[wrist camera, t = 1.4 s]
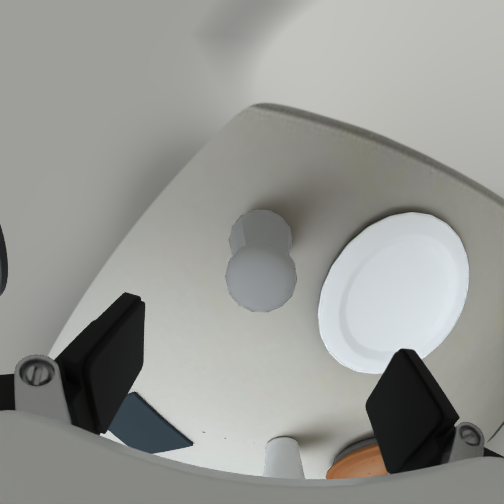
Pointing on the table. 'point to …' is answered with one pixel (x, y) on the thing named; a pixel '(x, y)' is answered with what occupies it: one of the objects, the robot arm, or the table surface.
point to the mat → (145, 428)
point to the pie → (358, 461)
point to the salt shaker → (261, 262)
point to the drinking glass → (283, 459)
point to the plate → (393, 291)
